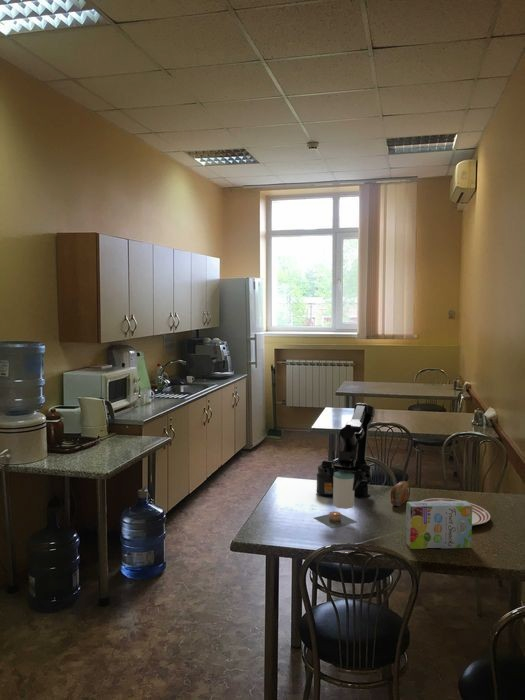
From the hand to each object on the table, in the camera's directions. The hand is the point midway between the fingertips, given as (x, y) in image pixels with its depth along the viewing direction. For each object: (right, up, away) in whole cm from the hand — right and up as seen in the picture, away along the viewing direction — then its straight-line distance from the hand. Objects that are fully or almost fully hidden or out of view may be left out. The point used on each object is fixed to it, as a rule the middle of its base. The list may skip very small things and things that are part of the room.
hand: (342, 489), depth 211 cm
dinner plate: (+44, -13, +8) cm, 47 cm away
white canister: (0, -6, +2) cm, 7 cm away
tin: (+27, -12, +24) cm, 38 cm away
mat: (-3, -13, +4) cm, 14 cm away
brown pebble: (-3, -13, +4) cm, 13 cm away
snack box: (+30, -15, -18) cm, 38 cm away
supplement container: (-1, -11, +35) cm, 36 cm away
